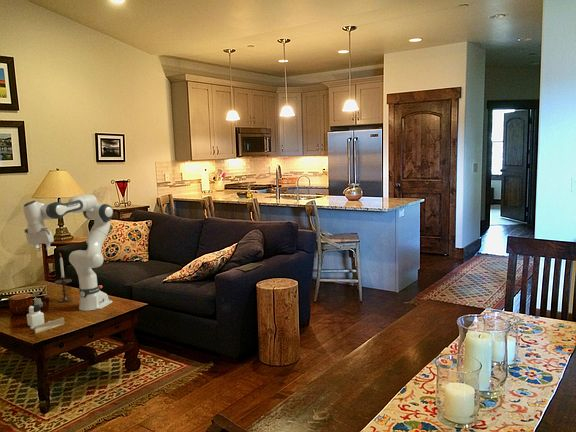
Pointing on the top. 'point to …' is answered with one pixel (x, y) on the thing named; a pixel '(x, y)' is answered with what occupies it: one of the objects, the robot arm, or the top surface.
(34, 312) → the medicine bottle
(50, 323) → the beige flat block
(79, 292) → the robot arm
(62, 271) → the candlestick
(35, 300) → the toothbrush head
